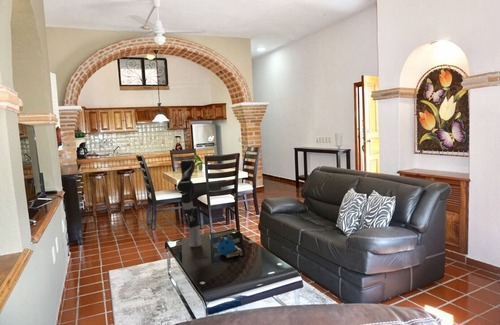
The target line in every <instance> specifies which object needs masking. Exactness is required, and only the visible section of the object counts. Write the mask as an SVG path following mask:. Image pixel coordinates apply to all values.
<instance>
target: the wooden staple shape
mask: <svg viewBox="0 0 500 325" xmlns="http://www.w3.org/2000/svg"><path fill="white" fill-rule="evenodd" d="M236 256H243V250H242V249H241V248H239V247H238V246H237V245H236V244H235V250H234V252H233V253H229V254H226V256H225V257H226V258H227V259H228V258H232V257H236Z"/></svg>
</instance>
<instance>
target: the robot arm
mask: <svg viewBox="0 0 500 325" xmlns="http://www.w3.org/2000/svg"><path fill="white" fill-rule="evenodd" d="M195 164H196V163H195V160H193V159H182V160H181V161H180V170H181V179H180V180H179V181H178V183H177V190H178V192H180V193H182V192H183V193H182V194H181V202H182V210H183V214H184V215H185V216H184V217H185V219H186V220H187V222H188V223H187V228H188V238H189V239H188V240H189V246H190V248H198V247H200V246H202V242H201V241H202V240H201V232H200V222H199V208H198V207H197V206H194V204H193V203H194V202H193V198H194V197H195V194H196V190H195V184H194V182H193V181H192V180H191V179H192V176H193V175H194V174H193V173H194V171H195V168H196V166H195Z"/></svg>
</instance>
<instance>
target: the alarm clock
mask: <svg viewBox="0 0 500 325" xmlns="http://www.w3.org/2000/svg"><path fill="white" fill-rule="evenodd" d="M233 239H234V238H233V236H232V235H231V234H227V236H220V237H218V242H217V245H216V248H217V251H218V252H219V253H220V254H221V256H222V255H223V256H225V257H226V254H229V253H234V252H235V251H234V250H235V245H236V243H235V241H234V240H233Z"/></svg>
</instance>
